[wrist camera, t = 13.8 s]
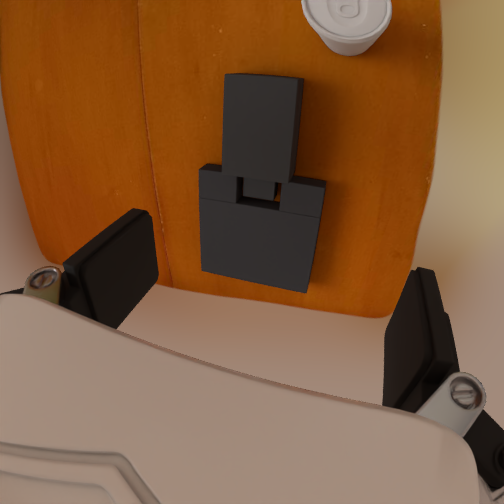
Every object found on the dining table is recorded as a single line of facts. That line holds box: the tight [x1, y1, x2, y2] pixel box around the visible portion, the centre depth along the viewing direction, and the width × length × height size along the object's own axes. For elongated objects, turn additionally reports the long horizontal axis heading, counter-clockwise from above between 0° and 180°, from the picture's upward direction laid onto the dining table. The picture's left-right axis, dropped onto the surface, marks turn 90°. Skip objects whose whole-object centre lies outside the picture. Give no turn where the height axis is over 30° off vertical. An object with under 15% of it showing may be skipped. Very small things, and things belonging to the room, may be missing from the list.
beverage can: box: [301, 0, 392, 56], centre depth 17 cm, size 5×5×12 cm
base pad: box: [199, 164, 326, 293], centre depth 33 cm, size 12×12×2 cm
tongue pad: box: [222, 73, 304, 201], centre depth 27 cm, size 6×12×4 cm, turn 177°
